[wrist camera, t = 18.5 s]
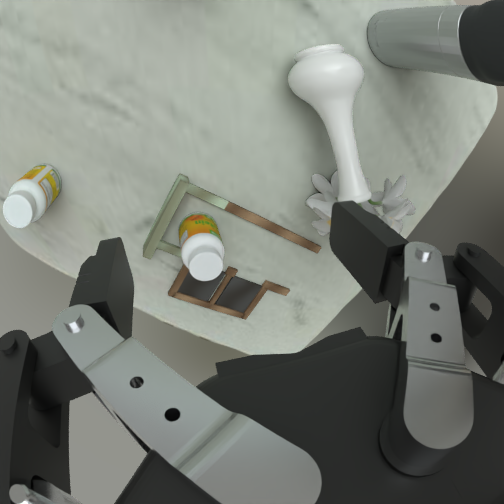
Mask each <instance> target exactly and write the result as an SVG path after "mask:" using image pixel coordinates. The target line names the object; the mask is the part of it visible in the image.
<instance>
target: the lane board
mask: <svg viewBox="0 0 504 504" xmlns="http://www.w3.org/2000/svg"><path fill="white" fill-rule="evenodd" d="M185 192H187V193H189V194H191V195H193V196H196V197H198V198H200V199H202V200H204V201H207V202H209V203H211V204H213V205H215V206H218V207H220V208H222V209H224V210H226V211H228V212H231V213H233V214H235V215H237V216H239V217H241V218H244V219H246V220H248V221H250V222H252V223H254V224H256V225H259V226H261V227H263V228H265V229H267V230H269V231H271V232H273V233H276V234H278V235H280V236H282V237H284V238H286V239H288V240H290V241H292V242H294V243H297V244H299V245H301V246H303V247H305V248H307V249H309V250H311V251H313V252H315V253H318V252H319V251H320V249H321V246H319V245H317V244H315V243H313V242H311V241H309V240H307V239H305V238H303V237H301V236H299V235H297V234H295V233H293V232H291V231H289V230H287V229H285V228H283V227H281V226H279V225H277V224H275V223H273V222H271V221H269V220H267V219H265V218H263V217H261V216H259V215H256V214H254V213H252V212H250V211H248V210H246V209H244V208H242V207H240V206H238V205H236V204H234V203H231V202H229V201H227V200H225V199H223V198H221V197H219V196H217V195H215V194H212V193H210V192H208V191H206V190H204V189H202V188H200V187H197V186H195V185H193V184H191V183H189V180H188V177H186V176H184V175H182V174H179V176H178V178H177V180H176V181H175V183H174V185H173V187H172V189H171V191H170V193H169V195H168V197H167V199H166V201H165V203H164V205H163V206H162V208H161V210H160V212H159V214H158V216H157V218H156V221H155V223H154V225H153V227H152V229H151V231H150V233H149V235H148V237H147V239H146V241H145V243H144V247H143V257H145V258H148V259H151V258H152V256H153V254H154V252H155V250H156V248H157V249H160V250H163V251H165V252H168V253H171V254H173V255H176V256H178V257H181V248H180V247H178V246H175V245H173V244H170V243H167V242H165V241H162V240H161V238H162V236H163V234H164V232H165V230H166V228H167V226H168V224H169V222H170V220H171V218H172V217H173V215H174V213H175V211H176V209H177V207H178V205H179V203H180V201H181V200H182V198H183V196H184V194H185ZM181 258H182V257H181ZM237 272H238V270H237V269H235V268H232V267H228V268H227V270H226V271H225V272H223V271H222V272H221V273H220V275H219V276H218V277H216V278H215V279H213V280H209V281H200V280H197V279H195V278H194V277H193V276H192V275H191V273H190V271H189V269H188V268H187V267H186V266H185V264H184V265H183V266H182V268H181V270H180V272H179V274H178V275H177V277H176V279H175V281H174V283H173V285H172V286H171V288H170V290H169V292H168V296H172V297H175V298H178V299H181V300H184V301H187V302H190V303H193V304H196V305H199V306H203V307H206V308H209V309H212V310H216V311H219V312H222V313H226V314H229V315H232V316H236V317H239V318H242V319H246V318H247V317H248V316H249V314H250V313H251V312H252V310H253V309H254V308H255V306H256V305H257V303H258V302H259V301H260V299H261V298H262V297H263V295H264V294H265V292H266V291H267V290H271V291H274V292H277V293H279V294H282V295H285V296H286V295H287V294H288V293H289V291H290V290H289V289H288V288H285V287H283V286H280V285H277V284H275V283H272V282H269V281H267V280H265V282H264V283H263V285H262V286H261V285H258V284H256V283H253V282H250V281H247V280H245V279H242V278H239V277H236V276H235V275H236V273H237ZM225 274H226V276H225V277H224V279H223V280H222V282H221V284H220V285H219V287H218V288H217V290H216V291H215V293H214V295H213V296H212V298H211V299H210V301H208V300H209V298H210V297H211V295H212V294H213V292H214V290H215V289H216V287H217V286H218V284H219V283H220V281H221V279H222V278H223V276H224V275H225ZM231 277H232V278H231ZM229 280H230V281H229ZM228 282H229V283H228ZM227 283H228V284H227ZM226 285H227V286H226ZM225 286H226V287H225ZM224 288H225V289H224ZM223 289H224V290H223ZM222 291H223V292H222ZM220 294H221V295H220ZM218 297H219V298H218ZM216 300H217V301H216Z"/></svg>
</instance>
